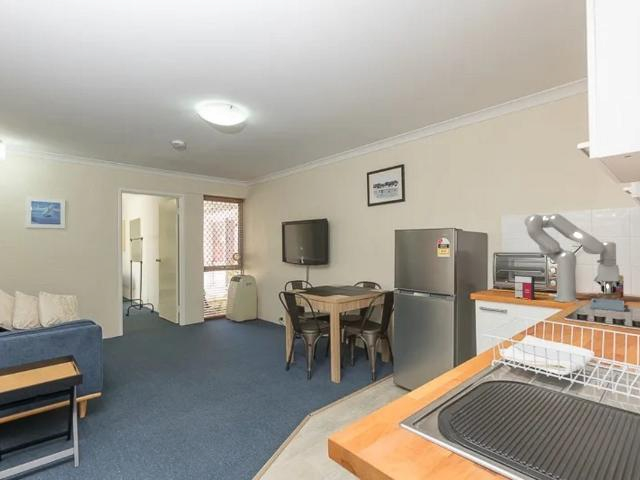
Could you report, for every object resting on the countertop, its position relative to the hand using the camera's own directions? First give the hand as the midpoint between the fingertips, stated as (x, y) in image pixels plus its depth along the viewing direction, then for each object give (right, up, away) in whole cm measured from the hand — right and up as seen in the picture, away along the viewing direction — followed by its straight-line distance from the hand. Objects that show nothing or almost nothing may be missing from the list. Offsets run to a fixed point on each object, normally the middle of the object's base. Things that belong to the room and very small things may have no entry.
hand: (608, 292), depth 208 cm
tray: (-13, -6, -15) cm, 21 cm away
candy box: (+18, -7, +17) cm, 25 cm away
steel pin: (0, -5, 0) cm, 5 cm away
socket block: (0, -6, 0) cm, 6 cm away
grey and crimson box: (-40, -7, +18) cm, 44 cm away
